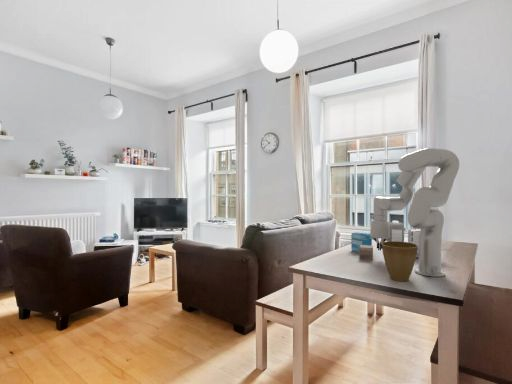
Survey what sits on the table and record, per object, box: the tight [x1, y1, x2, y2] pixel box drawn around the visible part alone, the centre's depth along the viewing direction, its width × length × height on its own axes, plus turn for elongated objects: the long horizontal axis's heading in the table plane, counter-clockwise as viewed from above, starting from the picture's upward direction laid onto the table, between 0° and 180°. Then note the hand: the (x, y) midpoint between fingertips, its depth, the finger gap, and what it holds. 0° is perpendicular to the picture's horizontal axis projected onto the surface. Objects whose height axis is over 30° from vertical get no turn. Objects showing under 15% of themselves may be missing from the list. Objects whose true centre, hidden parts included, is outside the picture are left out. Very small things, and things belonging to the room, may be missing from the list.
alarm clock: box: [386, 220, 405, 242], centre depth 192 cm, size 18×8×20 cm, turn 161°
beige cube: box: [359, 245, 374, 261], centre depth 175 cm, size 7×7×7 cm
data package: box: [350, 231, 373, 253], centre depth 193 cm, size 12×4×12 cm, turn 40°
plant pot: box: [381, 241, 418, 282], centre depth 135 cm, size 15×15×16 cm
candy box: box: [407, 229, 421, 260], centre depth 176 cm, size 14×6×16 cm, turn 84°
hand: (379, 249), depth 172 cm, fingers closed
